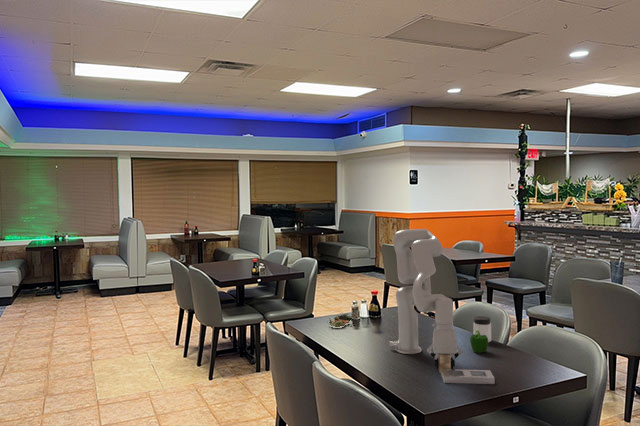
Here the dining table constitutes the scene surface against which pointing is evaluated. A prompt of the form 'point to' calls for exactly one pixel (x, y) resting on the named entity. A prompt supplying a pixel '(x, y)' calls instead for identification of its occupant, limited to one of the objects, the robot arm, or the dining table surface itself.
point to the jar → (482, 326)
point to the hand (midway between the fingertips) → (444, 367)
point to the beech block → (444, 361)
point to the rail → (467, 376)
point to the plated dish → (340, 320)
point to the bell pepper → (479, 342)
